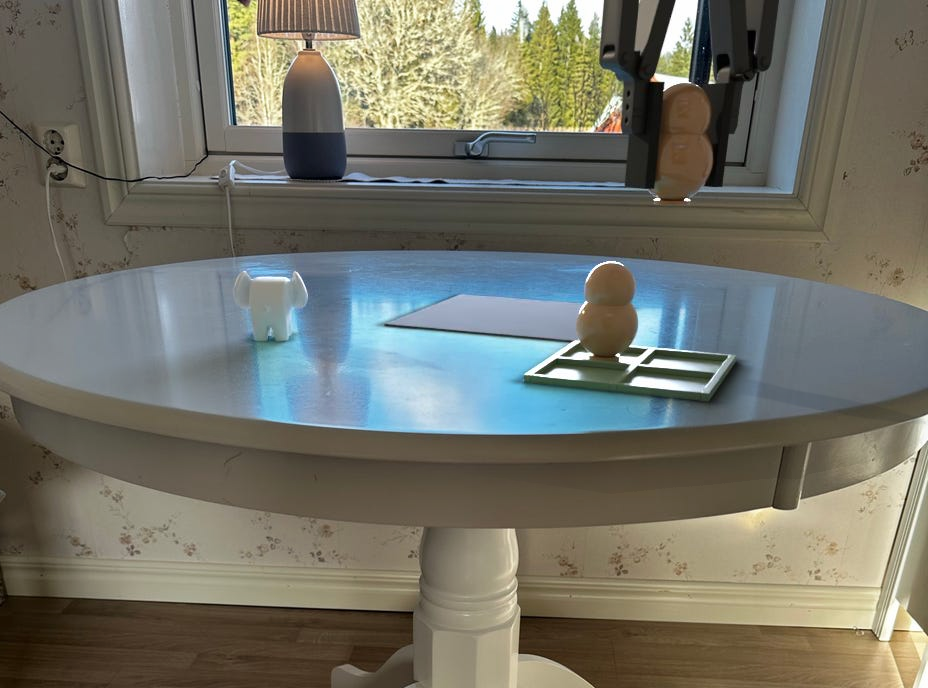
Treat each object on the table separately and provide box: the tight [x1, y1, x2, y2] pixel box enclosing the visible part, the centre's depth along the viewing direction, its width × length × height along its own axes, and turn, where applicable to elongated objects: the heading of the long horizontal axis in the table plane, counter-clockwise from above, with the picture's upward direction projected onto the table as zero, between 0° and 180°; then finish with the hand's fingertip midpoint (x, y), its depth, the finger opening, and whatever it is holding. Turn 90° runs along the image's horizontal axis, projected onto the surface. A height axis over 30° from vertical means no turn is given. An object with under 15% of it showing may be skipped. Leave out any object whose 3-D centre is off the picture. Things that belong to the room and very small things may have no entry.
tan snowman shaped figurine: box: [646, 81, 714, 207], centre depth 68 cm, size 5×5×8 cm
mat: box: [383, 293, 585, 343], centre depth 99 cm, size 20×20×1 cm
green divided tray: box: [522, 341, 738, 402], centre depth 77 cm, size 14×14×1 cm
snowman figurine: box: [576, 261, 639, 361], centre depth 79 cm, size 5×5×8 cm
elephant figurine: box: [232, 270, 309, 342], centre depth 88 cm, size 7×8×6 cm
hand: (673, 186), depth 69 cm, fingers closed on tan snowman shaped figurine, 5 cm apart
